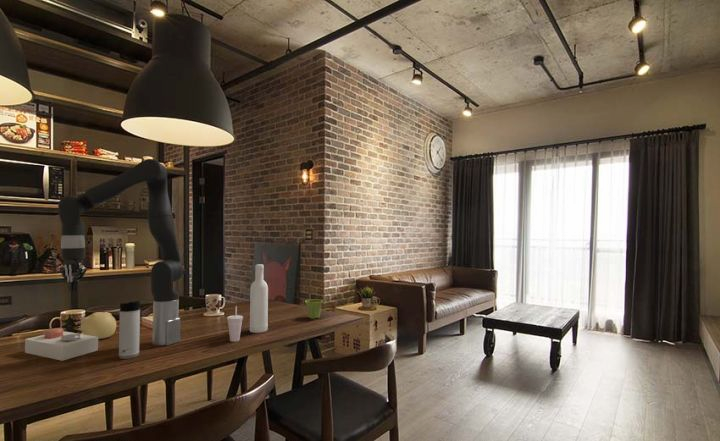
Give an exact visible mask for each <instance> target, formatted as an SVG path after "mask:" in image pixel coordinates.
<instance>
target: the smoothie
mask: <svg viewBox="0 0 720 441" xmlns="http://www.w3.org/2000/svg"><path fill="white" fill-rule="evenodd" d="M234 311H235V315H229V316H227V317H226V320H227V325H228V335H229V341H230V342H239V341H240V338H241V331H242V323H243V320H244V316H243V315H241V314H238V306H237V305H235V310H234Z"/></svg>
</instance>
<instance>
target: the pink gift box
mask: <svg viewBox="0 0 720 441" xmlns="http://www.w3.org/2000/svg"><path fill="white" fill-rule="evenodd" d="M63 331H64V328H62V327H59V328H58V327H57V328H50V329H46V330H44V331H43V335H45V336H44V338H48V339H53V338H57V337H61V336H63Z"/></svg>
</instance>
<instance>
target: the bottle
mask: <svg viewBox="0 0 720 441" xmlns="http://www.w3.org/2000/svg"><path fill="white" fill-rule="evenodd" d="M254 269H255V270H254V271H255V278H254V281H253V282H251V285H250V292H249V294H250V295H249V296H250V299H249V302H250V303H249V304H250V305H249V306H250V307H249V308H250V310H249V332H250V333H254V334H259V333H260V334H261V333H264V332H267V331H268V326H269V323H268V318H269V316H268V312H269V306H268V305H269V304H268V303H269V286H268V284H267V282H266V281H265V280H264V269H265V265H264V264H258V263H257V264H255V266H254Z"/></svg>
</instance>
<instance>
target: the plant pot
mask: <svg viewBox="0 0 720 441" xmlns="http://www.w3.org/2000/svg"><path fill="white" fill-rule="evenodd" d="M304 302H305V304H306V311H307V318H308V319H313V320H314V319H316V318H317V319H320V317H321V311H322V305H323V302H324V299H314V298H313V299H306V300H305V301H304Z"/></svg>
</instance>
